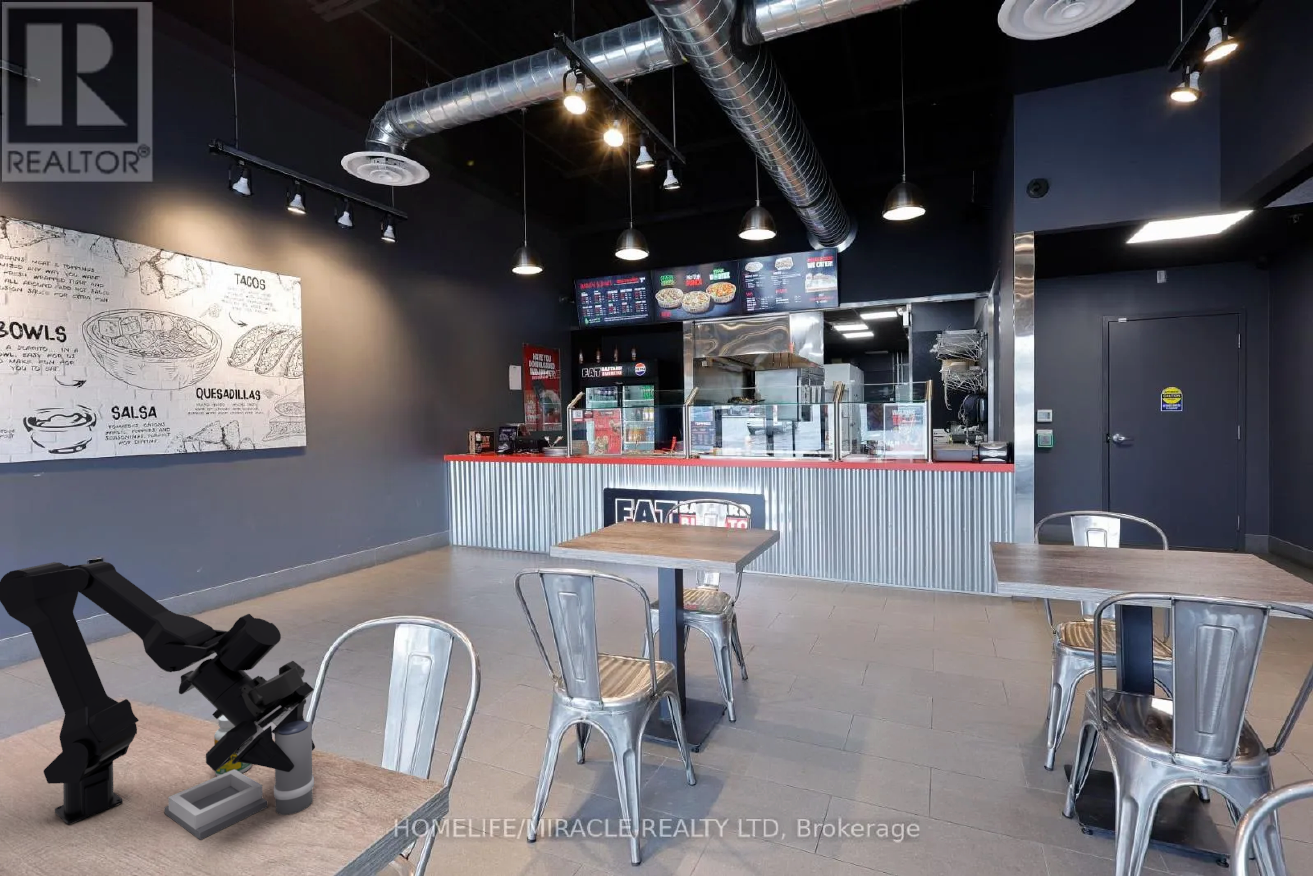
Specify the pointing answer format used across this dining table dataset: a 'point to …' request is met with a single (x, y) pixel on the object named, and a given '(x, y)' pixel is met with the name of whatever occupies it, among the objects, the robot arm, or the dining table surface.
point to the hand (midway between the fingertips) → (302, 759)
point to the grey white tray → (216, 803)
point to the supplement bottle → (240, 767)
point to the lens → (299, 782)
